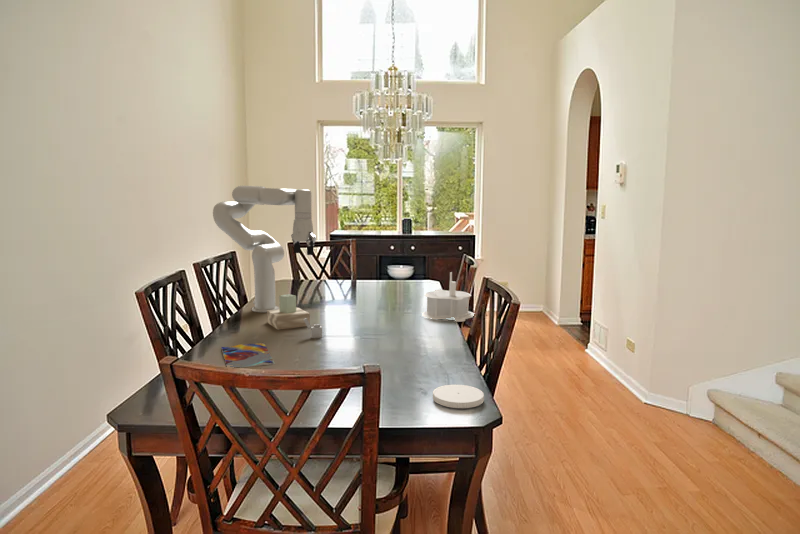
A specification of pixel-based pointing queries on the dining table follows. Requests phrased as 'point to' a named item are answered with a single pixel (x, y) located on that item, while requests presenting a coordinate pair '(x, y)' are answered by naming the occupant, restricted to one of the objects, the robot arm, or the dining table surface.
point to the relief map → (247, 355)
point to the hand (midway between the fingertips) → (303, 253)
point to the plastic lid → (458, 396)
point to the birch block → (287, 318)
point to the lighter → (314, 329)
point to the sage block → (287, 303)
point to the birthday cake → (448, 304)
